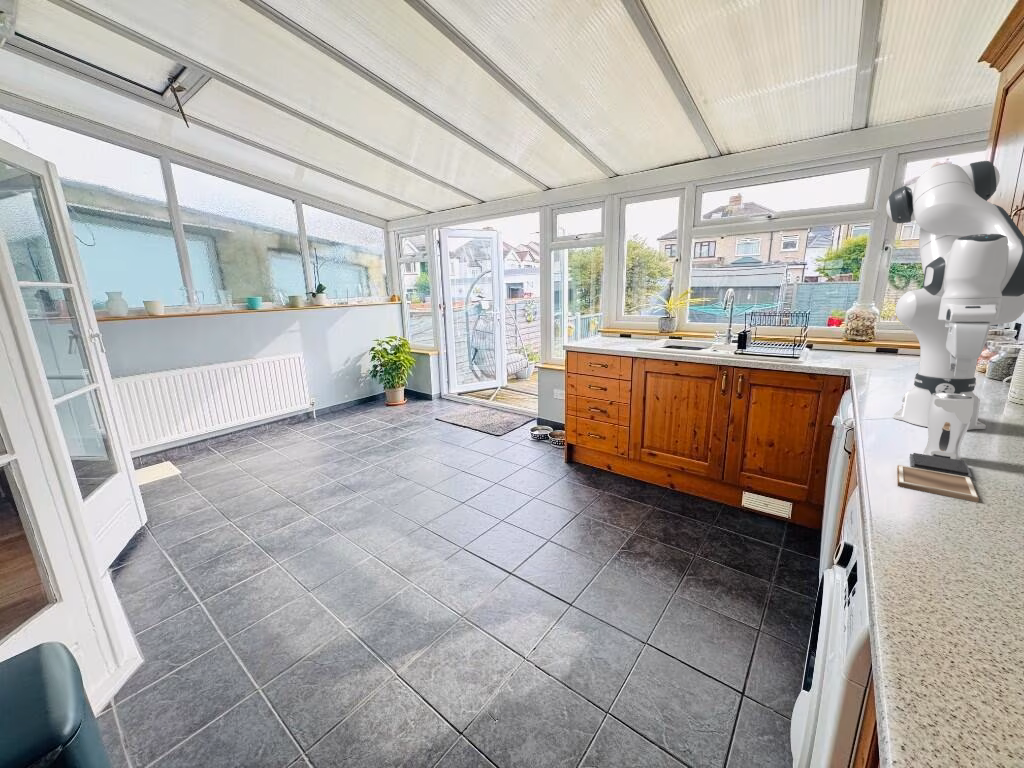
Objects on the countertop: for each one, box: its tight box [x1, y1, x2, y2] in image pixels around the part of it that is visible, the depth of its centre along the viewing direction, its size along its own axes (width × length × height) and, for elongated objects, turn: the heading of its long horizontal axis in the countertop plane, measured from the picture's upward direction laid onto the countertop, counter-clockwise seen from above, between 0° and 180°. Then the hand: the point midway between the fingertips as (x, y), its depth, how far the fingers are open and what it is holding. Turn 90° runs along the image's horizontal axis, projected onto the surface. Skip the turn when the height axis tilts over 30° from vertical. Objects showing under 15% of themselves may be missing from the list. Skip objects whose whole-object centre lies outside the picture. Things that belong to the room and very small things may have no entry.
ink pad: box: [909, 452, 973, 480], centre depth 91 cm, size 9×9×2 cm
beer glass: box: [922, 393, 974, 460], centre depth 95 cm, size 7×7×15 cm
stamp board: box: [896, 464, 980, 503], centre depth 84 cm, size 11×11×1 cm
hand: (957, 374), depth 92 cm, fingers open, 8 cm apart
